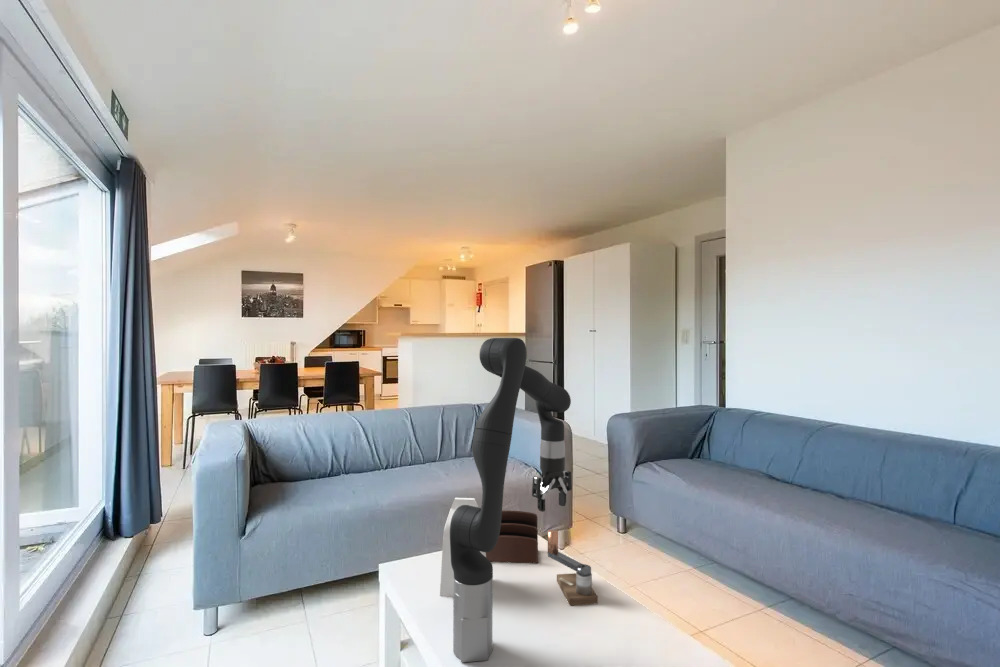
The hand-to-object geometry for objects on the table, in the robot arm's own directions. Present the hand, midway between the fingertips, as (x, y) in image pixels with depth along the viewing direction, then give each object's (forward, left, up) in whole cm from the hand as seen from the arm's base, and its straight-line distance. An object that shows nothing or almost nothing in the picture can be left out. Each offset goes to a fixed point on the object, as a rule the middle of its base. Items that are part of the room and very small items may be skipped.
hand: (552, 508), depth 152 cm
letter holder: (+19, +10, -22) cm, 31 cm away
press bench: (-7, -5, -22) cm, 24 cm away
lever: (-6, -4, -15) cm, 16 cm away
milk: (0, +26, -22) cm, 35 cm away
